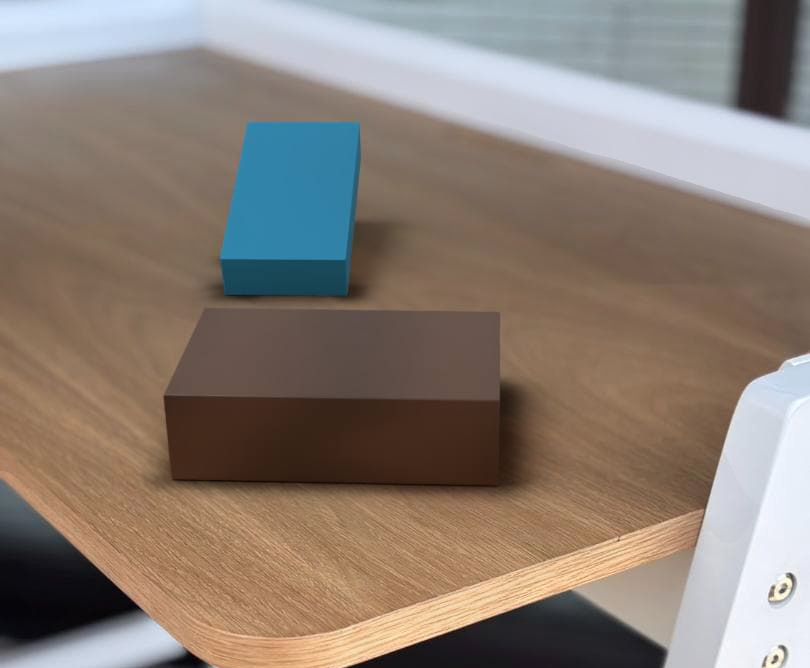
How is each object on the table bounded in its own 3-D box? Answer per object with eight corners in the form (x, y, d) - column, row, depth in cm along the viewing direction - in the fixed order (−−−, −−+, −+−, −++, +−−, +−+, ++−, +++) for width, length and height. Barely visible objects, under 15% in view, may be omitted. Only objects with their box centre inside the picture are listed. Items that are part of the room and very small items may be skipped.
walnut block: (170, 479, 64) (162, 394, 62) (210, 384, 73) (204, 307, 71) (497, 486, 64) (499, 400, 62) (497, 389, 72) (500, 311, 70)
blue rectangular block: (350, 360, 87) (366, 187, 99) (345, 259, 82) (362, 91, 94) (232, 359, 87) (263, 187, 99) (219, 259, 82) (253, 91, 94)
